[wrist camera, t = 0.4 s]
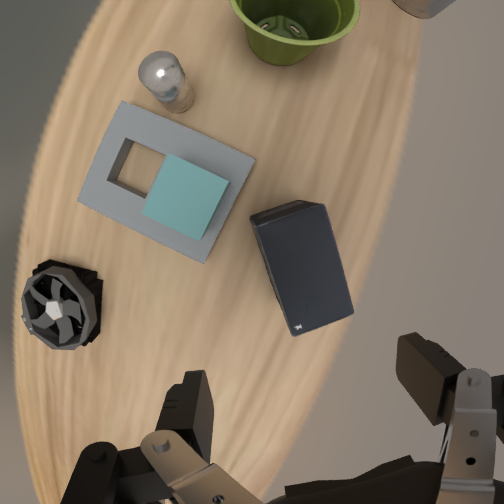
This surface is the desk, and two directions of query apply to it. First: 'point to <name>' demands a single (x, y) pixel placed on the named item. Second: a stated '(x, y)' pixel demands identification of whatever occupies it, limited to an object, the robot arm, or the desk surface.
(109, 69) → the desk surface
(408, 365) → the robot arm
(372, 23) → the desk surface
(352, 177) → the desk surface
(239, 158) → the peg board
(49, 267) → the cpu cooler
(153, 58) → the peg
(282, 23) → the plant pot
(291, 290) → the small box
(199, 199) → the teal cube
